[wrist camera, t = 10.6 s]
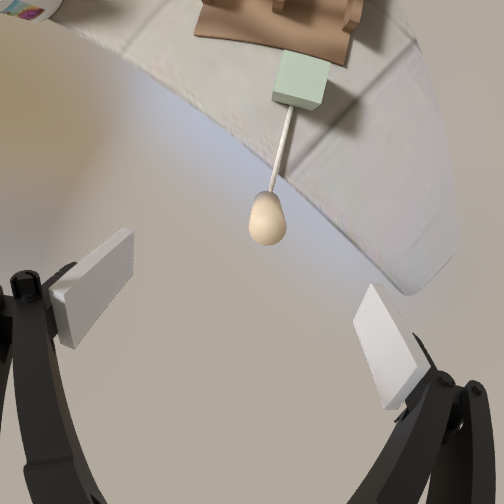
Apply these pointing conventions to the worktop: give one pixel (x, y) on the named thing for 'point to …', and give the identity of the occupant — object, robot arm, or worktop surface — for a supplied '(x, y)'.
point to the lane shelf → (284, 24)
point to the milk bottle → (30, 8)
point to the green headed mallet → (294, 94)
